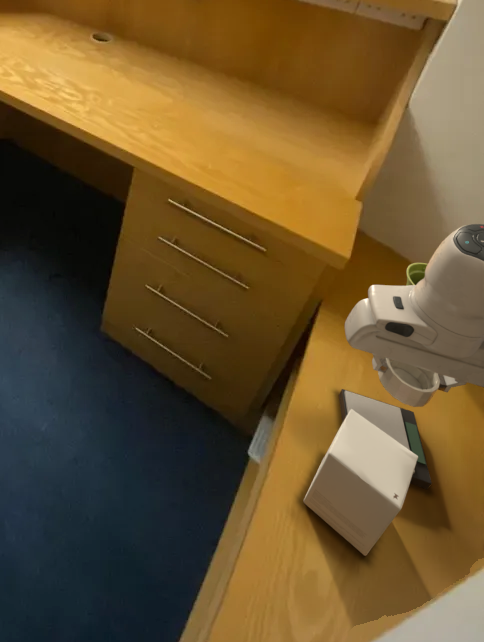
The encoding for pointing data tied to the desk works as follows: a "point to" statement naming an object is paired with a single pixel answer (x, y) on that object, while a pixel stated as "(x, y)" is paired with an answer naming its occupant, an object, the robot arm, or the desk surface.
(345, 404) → the scale
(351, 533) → the rectangular carton
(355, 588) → the desk surface
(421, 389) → the bowl
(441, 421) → the desk surface
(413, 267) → the plant pot
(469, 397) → the desk surface
